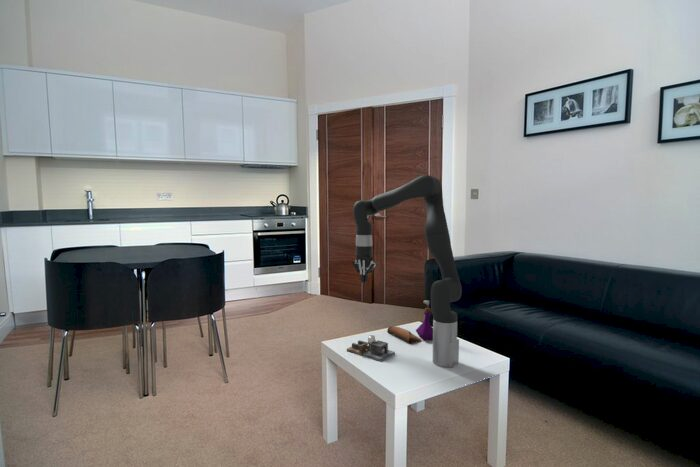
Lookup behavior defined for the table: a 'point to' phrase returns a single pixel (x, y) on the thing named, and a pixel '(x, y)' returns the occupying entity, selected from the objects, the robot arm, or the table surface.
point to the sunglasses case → (403, 334)
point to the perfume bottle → (425, 325)
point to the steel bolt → (370, 340)
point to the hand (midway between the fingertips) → (364, 282)
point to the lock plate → (375, 350)
